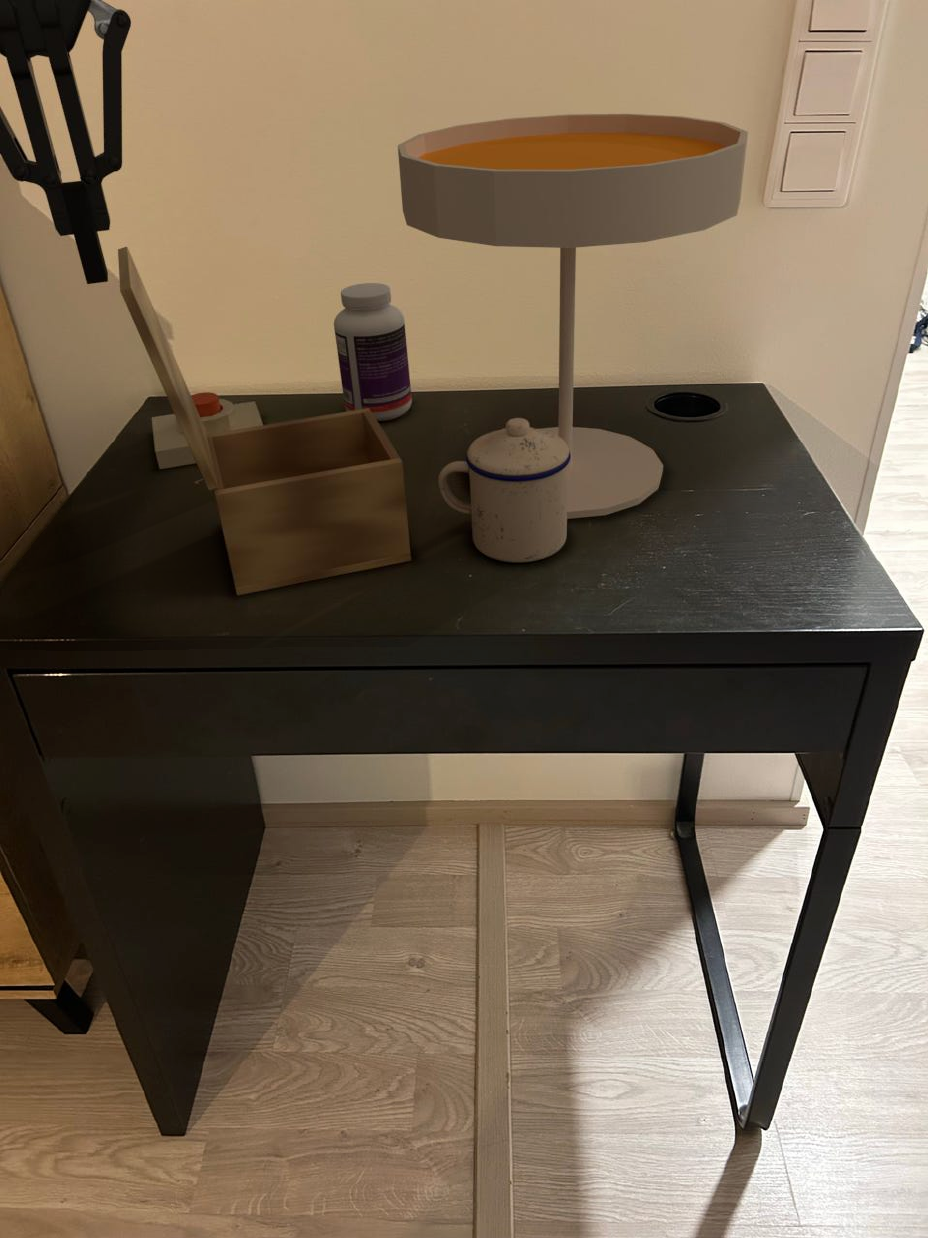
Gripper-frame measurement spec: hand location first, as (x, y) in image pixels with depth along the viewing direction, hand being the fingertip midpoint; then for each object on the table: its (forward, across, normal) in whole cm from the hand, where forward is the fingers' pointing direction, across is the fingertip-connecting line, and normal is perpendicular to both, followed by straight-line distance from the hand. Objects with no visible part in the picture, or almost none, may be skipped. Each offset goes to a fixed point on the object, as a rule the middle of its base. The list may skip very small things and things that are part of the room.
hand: (97, 277), depth 72 cm
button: (+22, -6, -27) cm, 36 cm away
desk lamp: (+26, -40, -5) cm, 48 cm away
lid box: (+26, -13, 0) cm, 29 cm away
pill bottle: (+26, -26, -28) cm, 46 cm away
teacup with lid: (+26, -30, +6) cm, 40 cm away
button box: (+26, -6, -27) cm, 38 cm away
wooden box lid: (+7, -4, 0) cm, 8 cm away
